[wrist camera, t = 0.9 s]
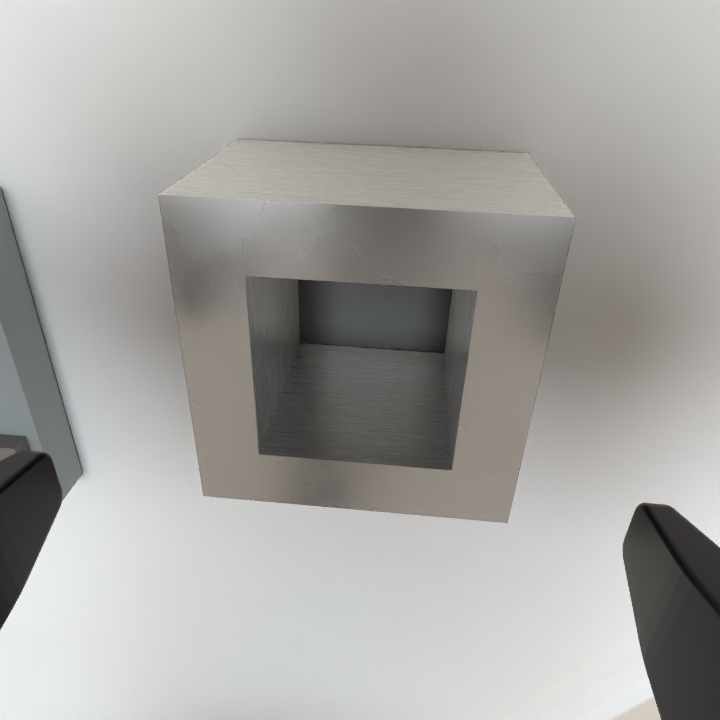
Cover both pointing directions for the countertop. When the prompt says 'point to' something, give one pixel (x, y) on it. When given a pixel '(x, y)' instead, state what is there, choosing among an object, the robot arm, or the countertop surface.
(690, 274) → the countertop surface
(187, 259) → the grey square hollow block
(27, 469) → the robot arm
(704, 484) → the countertop surface
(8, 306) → the grey stand
